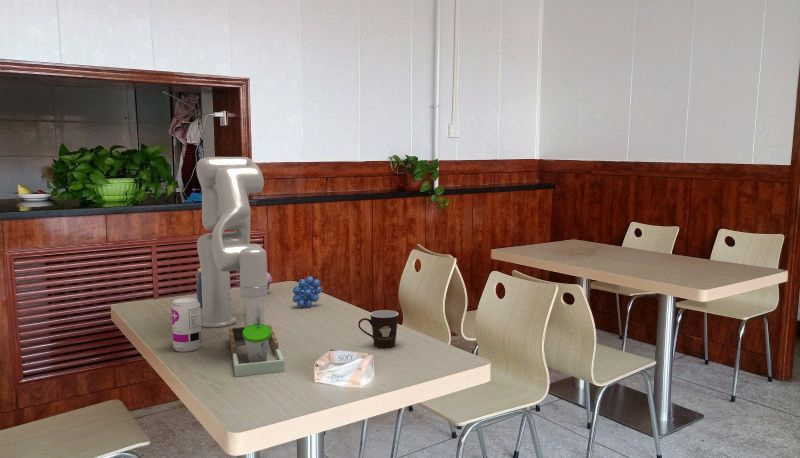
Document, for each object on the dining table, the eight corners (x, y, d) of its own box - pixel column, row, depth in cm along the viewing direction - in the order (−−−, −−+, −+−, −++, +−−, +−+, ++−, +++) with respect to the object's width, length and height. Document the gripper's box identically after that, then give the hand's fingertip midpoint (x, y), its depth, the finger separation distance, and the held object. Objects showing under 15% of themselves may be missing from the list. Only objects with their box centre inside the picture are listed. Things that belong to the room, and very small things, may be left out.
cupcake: (247, 296, 258) (246, 272, 257) (255, 291, 267) (254, 268, 266) (267, 297, 257) (267, 273, 256) (275, 292, 265) (274, 269, 264)
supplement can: (175, 354, 185) (173, 304, 183) (171, 346, 192) (169, 298, 190) (203, 350, 189) (201, 301, 187) (199, 342, 196) (196, 295, 194)
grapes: (318, 303, 246) (318, 273, 245) (324, 307, 240) (323, 276, 239) (289, 306, 241) (289, 275, 240) (294, 310, 235) (293, 279, 234)
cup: (257, 374, 171) (257, 328, 165) (237, 363, 175) (235, 318, 168) (277, 360, 177) (277, 316, 171) (257, 350, 181) (256, 306, 174)
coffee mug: (402, 342, 195) (402, 311, 194) (393, 351, 187) (392, 318, 186) (367, 339, 199) (367, 308, 198) (357, 347, 191) (356, 315, 190)
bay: (233, 363, 176) (232, 353, 176) (279, 359, 180) (279, 349, 180) (235, 376, 166) (234, 365, 166) (284, 371, 170) (284, 360, 170)
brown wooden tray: (229, 340, 198) (228, 328, 198) (271, 336, 202) (270, 324, 201) (232, 360, 179) (232, 347, 179) (278, 356, 183) (278, 342, 183)
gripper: (238, 287, 184) (240, 347, 186) (242, 297, 170) (244, 363, 172) (264, 285, 186) (266, 345, 189) (270, 295, 172) (272, 360, 174)
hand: (256, 353), depth 180 cm, fingers closed
